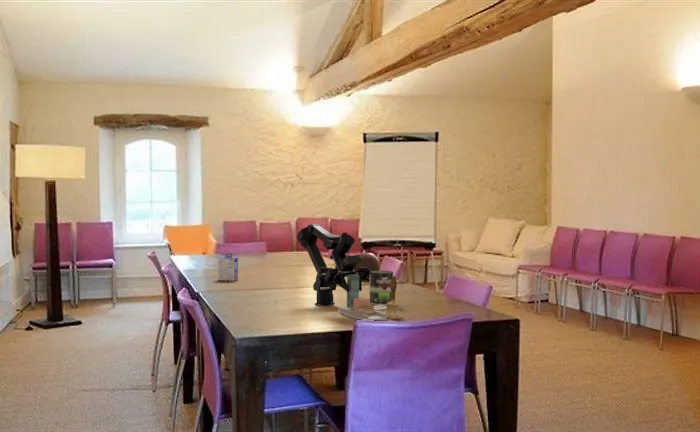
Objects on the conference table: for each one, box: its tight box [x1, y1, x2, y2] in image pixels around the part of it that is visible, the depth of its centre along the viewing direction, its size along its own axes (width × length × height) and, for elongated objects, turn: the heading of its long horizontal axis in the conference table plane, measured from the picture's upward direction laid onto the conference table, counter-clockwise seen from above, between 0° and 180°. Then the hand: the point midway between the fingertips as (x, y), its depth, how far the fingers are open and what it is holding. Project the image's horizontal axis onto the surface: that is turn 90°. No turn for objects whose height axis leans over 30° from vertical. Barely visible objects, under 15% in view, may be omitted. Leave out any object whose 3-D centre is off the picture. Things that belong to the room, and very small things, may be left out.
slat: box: [343, 274, 375, 315], centre depth 267 cm, size 12×6×14 cm, turn 30°
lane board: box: [338, 305, 387, 321], centre depth 267 cm, size 20×19×2 cm
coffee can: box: [368, 270, 394, 306], centre depth 296 cm, size 10×10×14 cm
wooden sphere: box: [353, 252, 381, 280], centre depth 379 cm, size 15×15×15 cm
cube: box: [353, 296, 370, 311], centre depth 265 cm, size 4×4×4 cm
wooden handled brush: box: [385, 275, 404, 320], centre depth 265 cm, size 8×8×16 cm
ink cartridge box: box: [217, 252, 239, 282], centre depth 368 cm, size 10×6×14 cm, turn 77°
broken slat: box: [373, 305, 386, 312], centre depth 273 cm, size 8×6×1 cm
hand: (354, 291), depth 270 cm, fingers open, 5 cm apart
